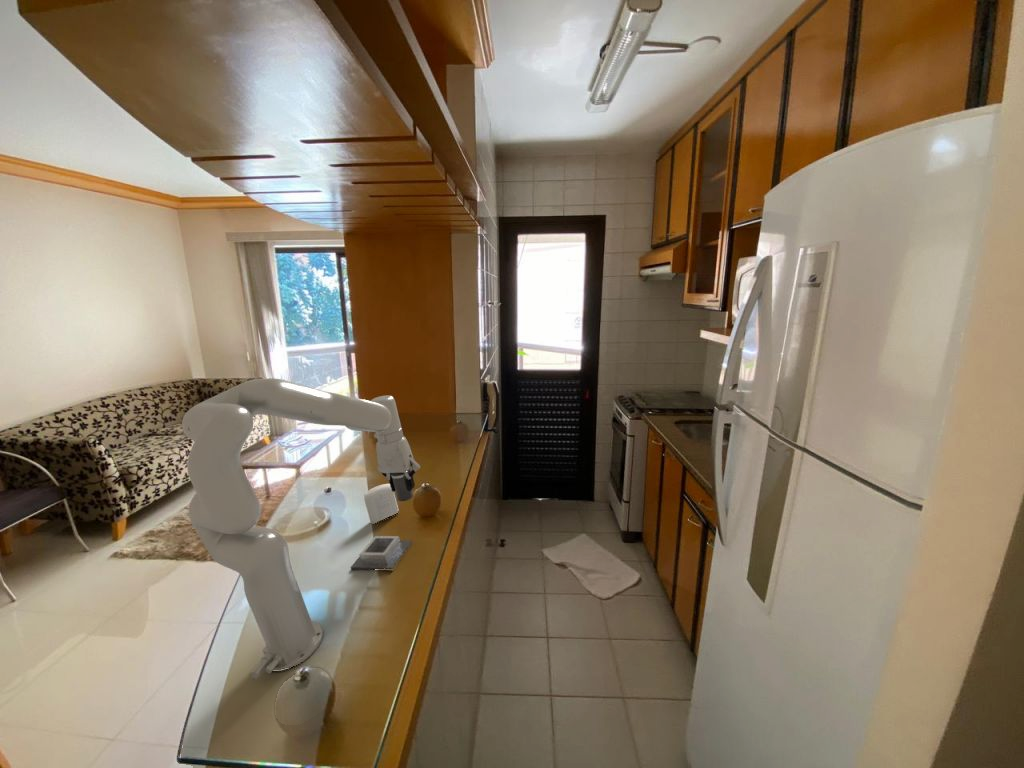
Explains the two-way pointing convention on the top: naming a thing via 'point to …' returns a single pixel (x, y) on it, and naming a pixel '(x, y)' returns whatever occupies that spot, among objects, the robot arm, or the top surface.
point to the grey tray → (381, 553)
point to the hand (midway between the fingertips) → (403, 488)
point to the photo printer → (380, 503)
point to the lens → (401, 487)
